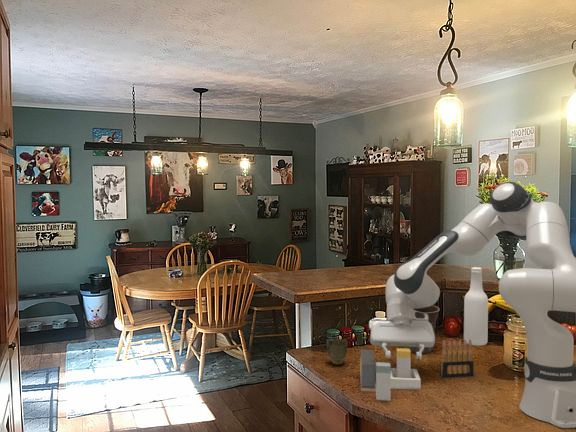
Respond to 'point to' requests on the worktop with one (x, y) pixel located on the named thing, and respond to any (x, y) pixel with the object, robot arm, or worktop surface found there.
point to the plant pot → (432, 318)
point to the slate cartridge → (383, 381)
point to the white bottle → (476, 311)
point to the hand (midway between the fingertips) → (403, 357)
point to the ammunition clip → (457, 360)
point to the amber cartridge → (403, 363)
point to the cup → (337, 350)
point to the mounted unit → (367, 371)
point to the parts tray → (406, 381)
